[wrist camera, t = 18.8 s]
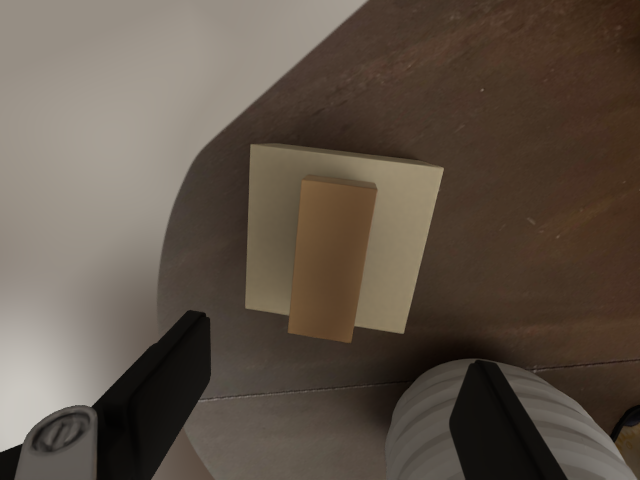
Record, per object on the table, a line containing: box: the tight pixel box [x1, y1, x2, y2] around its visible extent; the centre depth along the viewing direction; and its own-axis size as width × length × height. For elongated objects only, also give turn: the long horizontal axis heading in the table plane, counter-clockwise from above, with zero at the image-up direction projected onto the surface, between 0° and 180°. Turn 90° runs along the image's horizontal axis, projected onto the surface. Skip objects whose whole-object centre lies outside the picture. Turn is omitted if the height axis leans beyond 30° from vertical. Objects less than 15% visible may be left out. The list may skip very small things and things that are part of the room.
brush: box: [288, 174, 378, 343], centre depth 23 cm, size 5×12×4 cm, turn 174°
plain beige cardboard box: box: [245, 143, 444, 334], centre depth 29 cm, size 16×15×8 cm
